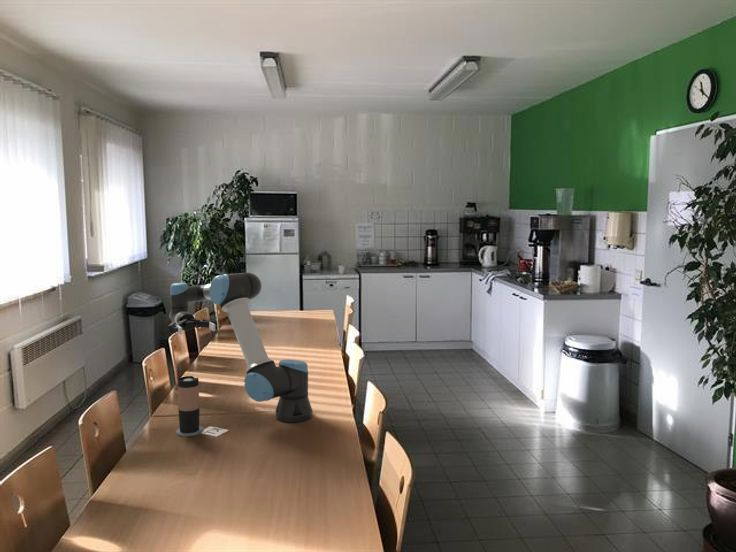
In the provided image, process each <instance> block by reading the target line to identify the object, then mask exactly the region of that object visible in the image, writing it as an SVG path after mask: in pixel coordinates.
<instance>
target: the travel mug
mask: <svg viewBox="0 0 736 552" xmlns="http://www.w3.org/2000/svg"><path fill="white" fill-rule="evenodd" d="M177 399H178V400H177V404H178V405H177V409H178V410H177V411H178V422H179V423H178V424H179V428H180V432H182V433H194V432H196V431H198V430H199V426H200V387H199V376H197V377H195V376H193V375H187V376H185V375H184V376H182V377H179V378H178V379H177Z"/></svg>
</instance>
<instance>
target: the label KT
mask: <svg viewBox="0 0 736 552" xmlns="http://www.w3.org/2000/svg"><path fill="white" fill-rule="evenodd" d="M203 429H204V430H203V432H202V433H201V434H202V435H207V436H211V437H216V438H217V437H219V436H221V435H223V434H224V433H226V432H228V431H230V430H229V429H224V428H222V427H221V428H220V427H216V426H211V425H210V426H207V427H206V428H203Z"/></svg>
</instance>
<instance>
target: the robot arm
mask: <svg viewBox="0 0 736 552" xmlns="http://www.w3.org/2000/svg"><path fill="white" fill-rule="evenodd" d="M188 285H189V284H188V283H186V282H174V283H173V282H172V284H171V285H170V291H169V295H170V313H169V315H168V317H169V319H170V321H171V323H170V324H169V325H167V328H168V329H167V331H168V332H169V333H171V332H172V333H173V334H176V333H177V334H179V335H183V331H185V332H189V331H192V329H194V328H195V329H199V328H209V330H211V331H212V332H216V328H217V327H218V321H217V320H213V319H211V320H210V319H206V318H201V319H196V317H195V316H194V315H193V314H191V313H190V312H189V304H190V303H198V302H206V301H211V302H212V303H213V304H214V305H217V306H218V305H219V307H220V309H221V311H222V312H225V313H227V317H228V318H229V321H230V325H231V327H232V330H233V332H234V335H235V337H236V339H237V342H238V345H239V347H240V350H241V352H242V356H243V357H244V361H245V362H246V365H247V368H246V371H245V373H246V375H245V377H244V380H243V383H244V389H245V392H246V393H247V395H248V397H250V398H251V400H253V401H255V402H260V403H261V402H267V401H270V400H273V399H276V398H279V399H278V401H277V405H276V407H275V412H274V414H275V419H276V420H277V421H279V422H283V423H284V422H285V423H300V422H304V421H308V420H310V419H311V418H312V417H313V413H314V411H313V408H312V405H311V401H310V399H309V367H308V364H307V362H306V361H304V360H303V361H302V360H299V359H281V360H279V361H278V366H277V365H276V363H275V361H274V360H273V359H271V358H269V356H268V354H267V351H266V348H265V346H264V344H263V341H262V339H261V336H260V333H259V331H258V328H257V326H256V323H255V321H254V319H253V318H254V317H253V316H252V315H253V314H251V313H252V312H251V311H250V309H249V306H248V304H249V303H250V300H253V299H255V298H256V297H258V295H260V293H261V292H262V282H261V279H260V277H258V276H257V275H256V274H254V273H252V272H245V271H244V272H239V273H228V274H227V273H224V274H219V275H216V276H214V277H213V278H212V280H211V282H210V283H208V284H207V283H206V284H200V285H199V284H198V285H189V286H188Z"/></svg>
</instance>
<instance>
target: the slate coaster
mask: <svg viewBox="0 0 736 552" xmlns="http://www.w3.org/2000/svg"><path fill="white" fill-rule="evenodd" d="M204 429H205V428H204V427H203V426H201V425H199V430H198V431H196V432H194V433H182V432H180V427H179V428H177V429H176V431H175V434H176V435H177V436H179V437H186V438H187V437H195V436H198V435H201V434H202V432H203V430H204Z"/></svg>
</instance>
